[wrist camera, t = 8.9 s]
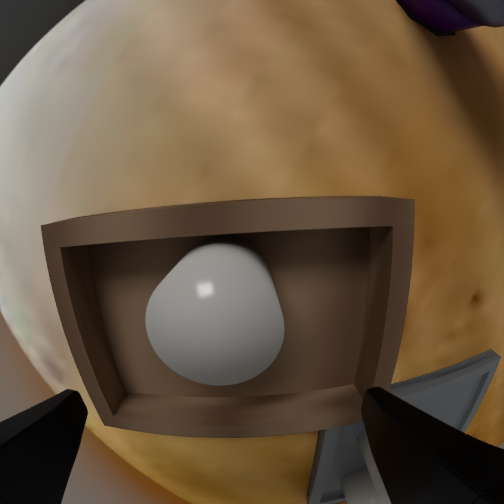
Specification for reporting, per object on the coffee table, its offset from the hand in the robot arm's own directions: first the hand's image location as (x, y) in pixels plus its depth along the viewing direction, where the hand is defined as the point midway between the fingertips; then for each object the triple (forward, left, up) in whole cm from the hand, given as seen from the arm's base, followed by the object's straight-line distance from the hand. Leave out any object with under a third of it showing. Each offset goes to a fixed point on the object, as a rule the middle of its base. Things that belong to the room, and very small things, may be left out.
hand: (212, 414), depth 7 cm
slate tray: (-13, +13, -6) cm, 20 cm away
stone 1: (0, -2, -6) cm, 6 cm away
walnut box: (0, 0, -6) cm, 7 cm away
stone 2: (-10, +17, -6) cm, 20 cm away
